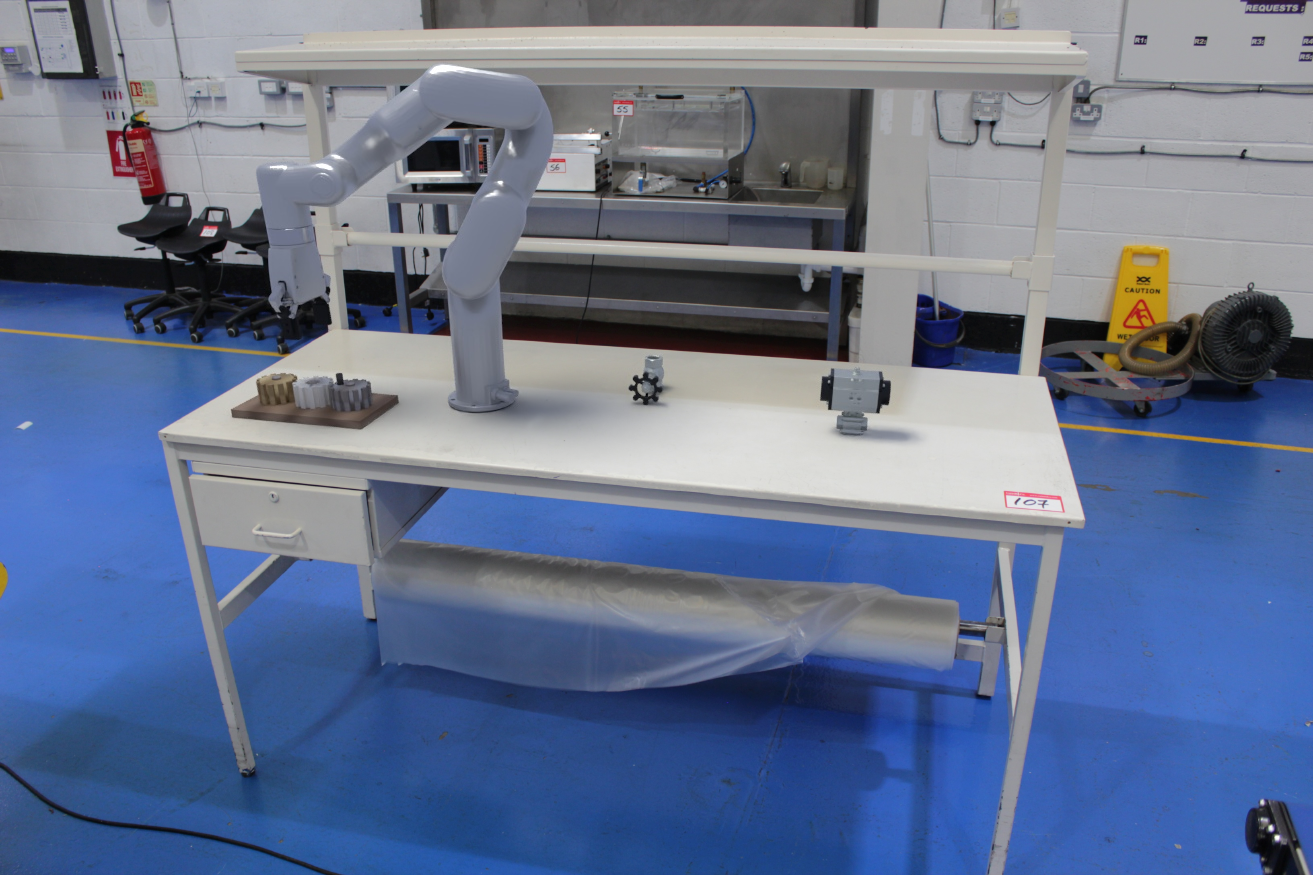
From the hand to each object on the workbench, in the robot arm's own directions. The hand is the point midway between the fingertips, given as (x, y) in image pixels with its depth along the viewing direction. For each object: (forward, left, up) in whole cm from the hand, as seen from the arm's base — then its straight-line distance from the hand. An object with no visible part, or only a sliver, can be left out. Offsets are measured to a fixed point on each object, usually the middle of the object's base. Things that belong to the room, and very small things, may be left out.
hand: (309, 331), depth 159 cm
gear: (0, 0, -14) cm, 14 cm away
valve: (-46, -43, -15) cm, 65 cm away
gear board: (0, 0, -15) cm, 15 cm away
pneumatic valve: (-87, -47, -15) cm, 100 cm away
